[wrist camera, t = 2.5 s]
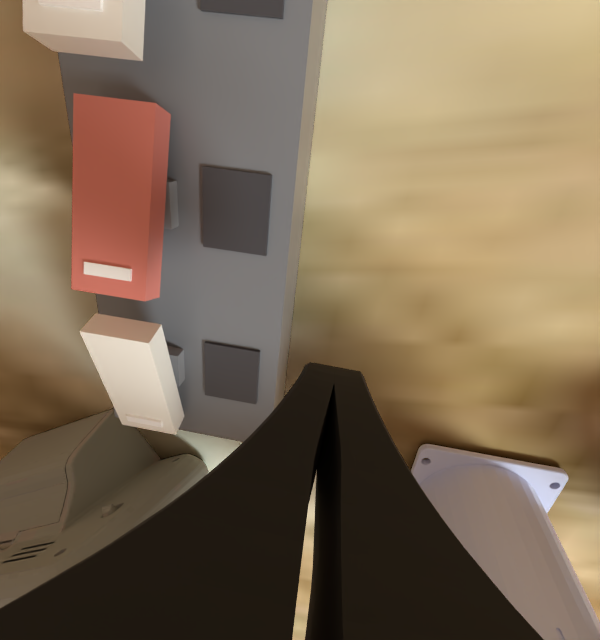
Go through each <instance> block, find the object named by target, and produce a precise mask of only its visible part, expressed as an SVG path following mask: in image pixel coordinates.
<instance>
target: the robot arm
mask: <svg viewBox="0 0 600 640" xmlns="http://www.w3.org/2000/svg"><path fill="white" fill-rule="evenodd" d="M424 458H428V459H424ZM316 470H317V478H316V502H315V527H314V552H313V572H312V585H311V595H310V603H309V611H308V620H307V628H306V636H305V640H600V622H599V620H598V618H597V616H596V614H595V611H594V609H593V607H592V605H591V603H590V601H589V599H588V597H587V595H586V593H585V591H584V589H583V587H582V585H581V583H580V581H579V579H578V577H577V575H576V573H575V571H574V569H573V566H572V564H571V562H570V560H569V558H568V556H567V554H566V552H565V550H564V548H563V546H562V544H561V542H560V540H559V538H558V536H557V534H556V532H555V530H554V528H553V526H552V524H551V521H550V519H549V517H548V515H547V513H548V511H549V510H550V508H551V506H552V505H553V503H554V502H555V500H556V498H557V497H558V495H559V494H560V492H561V491H562V489H563V487H564V486H565V484H566V483H567V481H568V475H567V473H566V472H565V471H564V470H563V469H561V468H557V467H551V466H546V465H541V464H535V463H530V462H524V461H519V460H514V459H508V458H503V457H497V456H492V455H486V454H481V453H476V452H470V451H465V450H459V449H454V448H449V447H443V446H438V445H432V444H424V445H422V446H420V447H419V449H418V452H417V455H416V458H415V460H414V463H413V466H412V469H411V471H410V469H409V468H408V466H407V464H406V463H405V461H404V459H403V458H402V456H401V454H400V453H399V451H398V449H397V447H396V445H395V444H394V442H393V440H392V438H391V436H390V434H389V432H388V430H387V428H386V426H385V424H384V423H383V421H382V419H381V417H380V414H379V412H378V410H377V408H376V406H375V404H374V401H373V399H372V397H371V394H370V392H369V390H368V387H367V384H366V382H365V379H364V376H363V375H362V373H361V372H360V371H354V370H349V369H343V368H338V367H332V366H327V365H321V364H316V363H311V362H310V363H308V364H307V365H305V366H304V369H303V371H302V372H301V374H300V376H299V378H298V379H297V381H296V382H295V384H294V385H293V386H292V388H291V389H290V390H289V392H288V393H287V394H286V396H285V397H284V398H283V399H282V401H281V402H280V403H279V404H278V405H277V407H276V408H275V409H274V410H273V412H272V413H271V414H270V415H269V416H268V417H267V418H266V419H265V420H264V421H263V422H262V424H261V425H260V426H259V427H258V428H257V429H256V430H255V431H254V432H253V433H252V434H251V435H250V436H249V437H248V438H247V439H246V440H245V441H244V442H243V443H242V444H241V445H240V446H239V447H238V448H237V449H236V450H235V451H233V452H232V453H231V454H230V455H229V456H228V457H227V458H226V459H225V460H223V461H222V462H221V463H220V464H219V465H218V466H217V467H215V468H214V469H213V470H212V471H211V472H209V473H208V474H207V475H206V476H204V477H203V478H202V479H201V480H199V481H198V482H197V483H195V484H194V485H193V486H192V487H190V488H189V489H188V490H187V491H185V492H184V493H183V494H181V495H180V496H179V497H177V498H176V499H175V500H173V501H172V502H171V503H169V504H168V505H166V506H165V507H164V508H162V509H161V510H159V511H158V512H156V513H155V514H153V515H152V516H150V517H149V518H147V519H146V520H144V521H143V522H141V523H140V524H138V525H137V526H135V527H134V528H132V529H131V530H130V531H128V532H127V533H125V534H124V535H122V536H121V537H119V538H118V539H116V540H115V541H113V542H112V543H110V544H108V545H107V546H105V547H104V548H102V549H100V550H99V551H97V552H96V553H94V554H92V555H91V556H89V557H87V558H86V559H84V560H82V561H81V562H79V563H77V564H75V565H74V566H72V567H70V568H69V569H67V570H65V571H63V572H62V573H60V574H58V575H57V576H55V577H53V578H51V579H50V580H48V581H46V582H45V583H43V584H41V585H39V586H38V587H36V588H34V589H33V590H31V591H29V592H27V593H26V594H24V595H22V596H21V597H19V598H17V599H15V600H13V601H12V602H10V603H8V604H6V605H5V606H3V607H1V608H0V640H292V635H293V626H294V617H295V608H296V600H297V592H298V584H299V575H300V567H301V559H302V550H303V542H304V534H305V526H306V518H307V510H308V504H309V500H310V495H311V491H312V487H313V483H314V479H315V475H316Z"/></svg>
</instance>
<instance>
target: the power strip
mask: <svg viewBox="0 0 600 640" xmlns="http://www.w3.org/2000/svg"><path fill="white" fill-rule="evenodd" d="M327 1H328V0H146V1H145V23H144V45H143V61H136V60H127V59H118V58H109V57H100V56H91V55H82V54H73V53H64V52H58V56H59V63H60V69H61V76H62V82H63V88H64V95H65V101H66V108H67V114H68V120H69V127H70V133H71V139H72V146H73V93H76V94H85V95H93V96H101V97H110V98H118V99H127V100H135V101H143V102H152V103H156V104H158V105H159V106H160V107H162V108H163V109H164V110H166V111H167V112H168V113H170V114H171V121H170V137H169V153H168V169H167V185H166V201H165V218H164V234H163V250H162V266H161V282H160V297H159V298H155V299H152V300H148V301H139V300H133V299H127V298H121V297H115V296H109V295H103V294H97V293H96V299H97V306H98V312H99V314H103V315H109V316H115V317H121V318H127V319H133V320H138V321H144V322H150V323H156V324H162V328H163V332H164V336H165V340H166V344H167V348H168V352H169V356H170V360H171V364H172V368H173V372H174V376H175V380H176V384H177V388H178V392H179V396H180V400H181V404H182V408H183V412H184V418H183V421H182V423H181V425H180V427H179V430H184V431H190V432H195V433H200V434H205V435H210V436H216V437H221V438H226V439H231V440H236V441H242V442H244V441H245V440H246V439H247V438H248V437H249V436H250V435H251V434H252V433H253V432H254V431H255V430H256V429H257V428H258V427H259V426H260V425H261V424H262V422H263V421H264V420H265V419H266V418H267V417H268V416H269V415H270V414H271V413H272V412H273V410H274V409H275V408H276V407H277V405H278V404H279V403H280V402H281V401H282V399H283V398H284V391H285V382H286V373H287V364H288V355H289V346H290V337H291V327H292V318H293V309H294V300H295V291H296V282H297V273H298V264H299V255H300V246H301V237H302V228H303V219H304V210H305V200H306V191H307V182H308V173H309V164H310V155H311V146H312V137H313V128H314V119H315V110H316V101H317V92H318V83H319V73H320V64H321V55H322V46H323V37H324V28H325V19H326V10H327ZM113 408H114V406H113ZM114 415H115V417H117V418H119V417H118V415H117V412H116V410H115V408H114Z"/></svg>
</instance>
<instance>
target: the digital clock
mask: <svg viewBox="0 0 600 640" xmlns="http://www.w3.org/2000/svg"><path fill="white" fill-rule="evenodd" d="M207 474H208V469H207V466H206V465H205V463H204V462H203V461H202V460H201V459H199V458H197V457H195V456H193V455H190V454H183V455H178V456H174V457H171V458H167V459H163V460H161V459H160V458H159V456H158V455H157V454H156V453H155V451H154V450H153V449H152V447H151V446H150V445H149V444H148V442H147V441H146V440H145V439H144V437H143V436H142V435H141V433H140V432H139V431H138V430H137V428H136V427H133V426H127V425H122V423H121V421H120V419H119V418H117V417H115V415H114V409H111V410H108V411H105V412H102V413H99V414H96V415H93V416H90V417H87V418H84V419H81V420H78V421H76V422H73V423H70V424H67V425H64V426H61V427H58V428H55V429H52V430H49V431H46V432H43V433H40V434H37V435H34V436H32V437H29V438H26V439H24V440H22V441H21V442H20V443H19V444H18V445H17V446H16V447H15V448H14V449H13V450H11V451H10V452H9V453H8V454H7V455H6V456H5V457H4V458H3V459H1V460H0V608H1V607H3V606H5V605H6V604H8V603H10V602H12V601H13V600H15V599H17V598H19V597H21V596H22V595H24V594H26V593H27V592H29V591H31V590H33V589H34V588H36V587H38V586H39V585H41V584H43V583H45V582H46V581H48V580H50V579H51V578H53V577H55V576H57V575H58V574H60V573H62V572H63V571H65V570H67V569H69V568H70V567H72V566H74V565H75V564H77V563H79V562H81V561H82V560H84V559H86V558H87V557H89V556H91V555H92V554H94V553H96V552H97V551H99V550H100V549H102V548H104V547H105V546H107V545H108V544H110V543H112V542H113V541H115V540H116V539H118V538H119V537H121V536H122V535H124V534H125V533H127V532H128V531H130V530H131V529H132V528H134V527H135V526H137V525H138V524H140V523H141V522H143V521H144V520H146V519H147V518H149V517H150V516H152V515H153V514H155V513H156V512H158V511H159V510H161V509H162V508H164V507H165V506H166V505H168V504H169V503H171V502H172V501H173V500H175V499H176V498H177V497H179V496H180V495H181V494H183V493H184V492H185V491H187V490H188V489H189V488H190V487H192V486H193V485H194V484H195V483H197V482H198V481H199V480H201V479H202V478H203V477H204V476H206V475H207Z"/></svg>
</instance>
